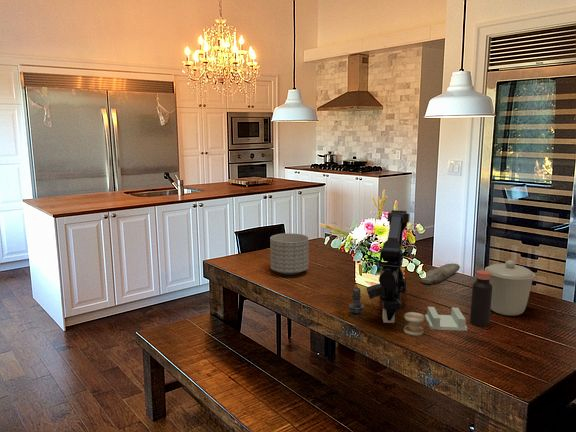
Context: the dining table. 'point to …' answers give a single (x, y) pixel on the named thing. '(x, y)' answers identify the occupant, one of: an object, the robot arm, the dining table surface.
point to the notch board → (446, 320)
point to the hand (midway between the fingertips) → (388, 318)
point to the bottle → (481, 299)
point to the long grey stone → (440, 273)
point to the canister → (509, 287)
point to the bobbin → (414, 323)
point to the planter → (289, 253)
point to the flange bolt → (356, 303)
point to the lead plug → (386, 317)
